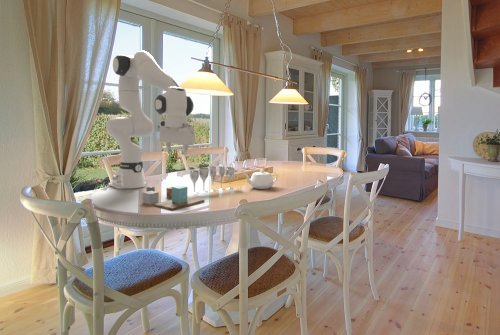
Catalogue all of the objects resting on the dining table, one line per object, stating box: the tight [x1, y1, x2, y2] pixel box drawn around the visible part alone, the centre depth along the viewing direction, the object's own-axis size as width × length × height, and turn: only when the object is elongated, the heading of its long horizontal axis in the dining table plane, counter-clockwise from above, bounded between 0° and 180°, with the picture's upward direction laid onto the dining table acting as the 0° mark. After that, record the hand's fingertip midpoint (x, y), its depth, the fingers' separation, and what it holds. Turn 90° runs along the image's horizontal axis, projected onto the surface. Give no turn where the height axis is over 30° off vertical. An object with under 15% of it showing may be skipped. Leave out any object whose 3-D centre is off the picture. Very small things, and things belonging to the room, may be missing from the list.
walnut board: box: [153, 195, 205, 211], centre depth 161 cm, size 12×20×1 cm, turn 144°
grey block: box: [142, 190, 160, 205], centre depth 162 cm, size 5×5×5 cm
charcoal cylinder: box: [145, 186, 156, 192], centre depth 173 cm, size 4×4×5 cm
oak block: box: [165, 186, 173, 200], centre depth 173 cm, size 5×5×5 cm
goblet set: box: [189, 165, 236, 195], centre depth 190 cm, size 28×6×13 cm, turn 127°
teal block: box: [171, 185, 188, 204], centre depth 161 cm, size 5×5×7 cm
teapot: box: [242, 168, 279, 190], centre depth 201 cm, size 22×14×11 cm, turn 112°
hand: (177, 153), depth 160 cm, fingers open, 8 cm apart
